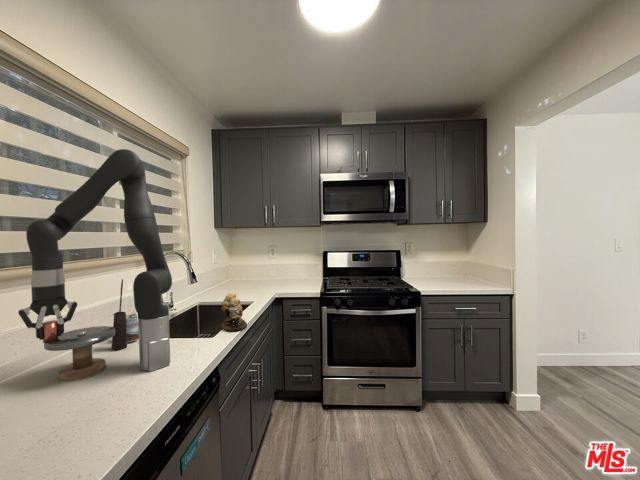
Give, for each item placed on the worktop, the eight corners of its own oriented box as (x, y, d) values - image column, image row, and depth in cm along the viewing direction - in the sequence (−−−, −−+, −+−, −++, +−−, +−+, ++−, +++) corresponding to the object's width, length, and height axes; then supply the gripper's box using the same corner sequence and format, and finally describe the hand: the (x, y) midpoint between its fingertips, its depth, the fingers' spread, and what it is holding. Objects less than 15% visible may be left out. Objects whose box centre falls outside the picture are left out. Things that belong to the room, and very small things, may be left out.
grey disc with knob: (114, 326, 105) (113, 307, 105) (116, 340, 91) (115, 317, 91) (47, 339, 94) (46, 317, 94) (37, 356, 80) (36, 330, 80)
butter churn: (112, 356, 105) (109, 282, 104) (97, 352, 109) (94, 281, 108) (136, 346, 113) (134, 278, 113) (121, 343, 117) (119, 278, 117)
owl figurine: (251, 330, 131) (250, 294, 131) (225, 334, 125) (224, 297, 125) (242, 320, 147) (241, 288, 146) (219, 324, 141) (218, 290, 141)
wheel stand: (109, 371, 93) (107, 339, 93) (60, 385, 84) (58, 351, 84) (102, 360, 101) (101, 331, 101) (57, 372, 92) (56, 341, 92)
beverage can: (131, 344, 116) (130, 316, 116) (116, 343, 118) (115, 315, 117) (143, 339, 122) (142, 312, 122) (129, 338, 124) (128, 311, 124)
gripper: (76, 279, 95) (78, 328, 96) (15, 285, 85) (17, 340, 85) (79, 281, 90) (81, 334, 91) (14, 288, 80) (17, 347, 80)
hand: (50, 336), depth 88 cm, fingers closed on grey disc with knob, 3 cm apart
